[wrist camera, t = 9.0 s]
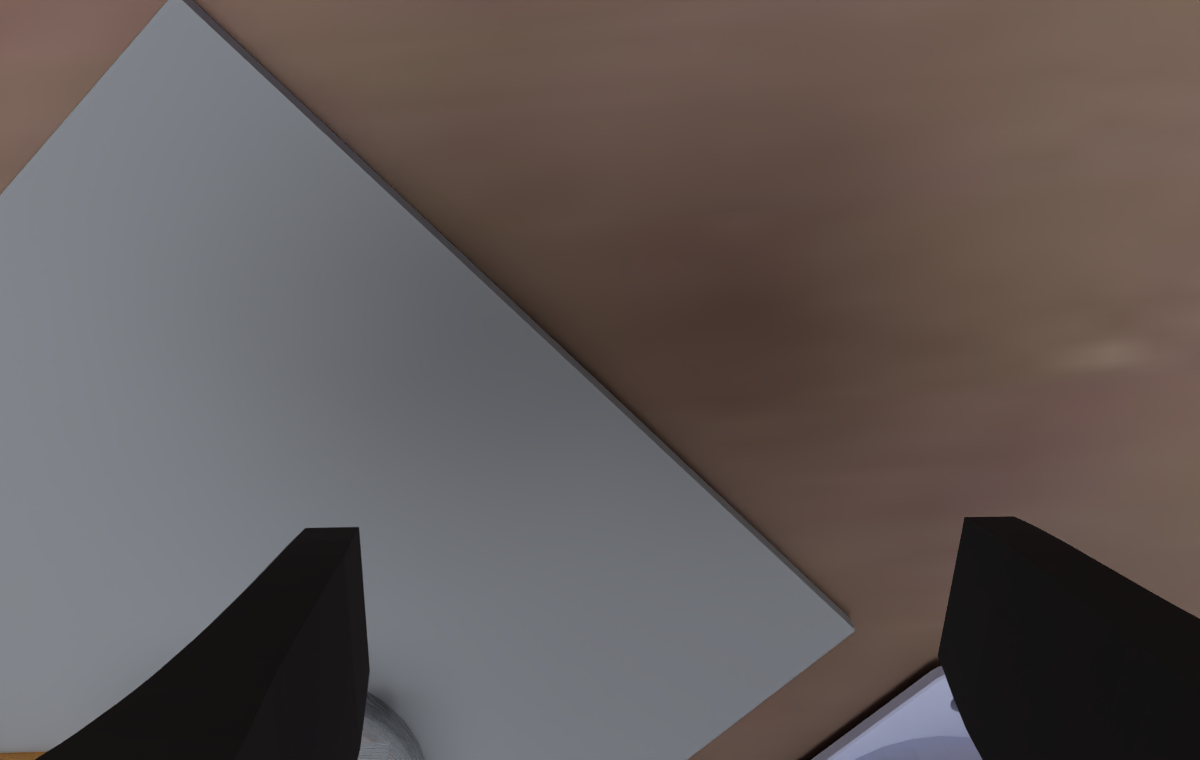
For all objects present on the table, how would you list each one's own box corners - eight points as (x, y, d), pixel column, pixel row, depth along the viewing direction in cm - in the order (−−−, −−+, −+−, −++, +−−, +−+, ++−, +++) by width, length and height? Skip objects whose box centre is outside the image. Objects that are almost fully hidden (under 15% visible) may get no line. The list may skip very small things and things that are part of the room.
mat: (849, 617, 24) (855, 630, 24) (240, 1086, 29) (236, 1104, 29) (183, -10, 18) (174, -8, 18) (-453, 727, 23) (-473, 744, 22)
